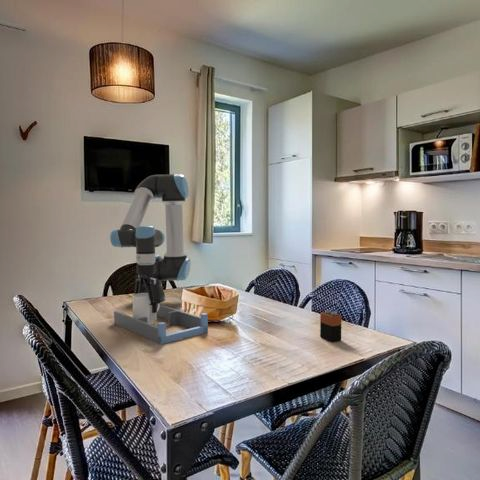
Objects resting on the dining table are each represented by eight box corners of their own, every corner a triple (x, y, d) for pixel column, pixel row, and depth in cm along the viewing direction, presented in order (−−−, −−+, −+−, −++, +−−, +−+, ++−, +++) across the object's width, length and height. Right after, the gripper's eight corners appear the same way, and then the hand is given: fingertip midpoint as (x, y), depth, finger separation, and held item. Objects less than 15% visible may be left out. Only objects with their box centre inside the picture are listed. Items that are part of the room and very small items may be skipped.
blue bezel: (205, 331, 150) (204, 312, 149) (207, 332, 148) (207, 313, 148) (158, 343, 136) (157, 323, 135) (161, 344, 135) (160, 324, 134)
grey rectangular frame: (157, 314, 175) (157, 303, 174) (205, 331, 150) (204, 318, 149) (114, 323, 161) (114, 311, 160) (158, 343, 136) (158, 328, 136)
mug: (156, 318, 168) (155, 290, 168) (164, 323, 161) (164, 294, 161) (129, 323, 162) (128, 294, 161) (137, 327, 155) (136, 297, 154)
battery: (332, 342, 136) (332, 314, 135) (319, 337, 142) (319, 309, 141) (341, 340, 138) (342, 312, 137) (329, 335, 144) (329, 308, 143)
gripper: (124, 262, 165) (125, 314, 167) (151, 267, 149) (152, 325, 151) (140, 260, 171) (141, 311, 172) (168, 265, 154) (169, 321, 156)
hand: (147, 318), depth 161 cm, fingers open, 9 cm apart
